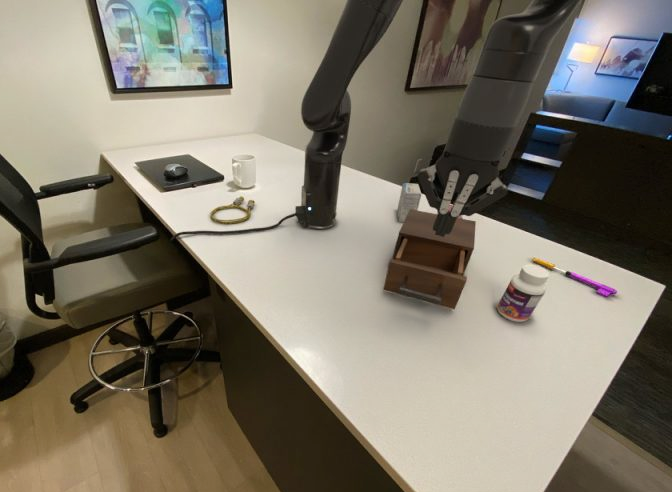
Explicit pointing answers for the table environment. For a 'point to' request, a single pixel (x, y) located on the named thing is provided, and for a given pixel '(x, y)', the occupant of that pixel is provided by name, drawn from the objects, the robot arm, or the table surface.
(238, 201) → the coiled yellow cable
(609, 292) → the purple and yellow rod
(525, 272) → the pill bottle
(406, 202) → the medicine box
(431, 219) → the cabinet
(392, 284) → the drawer
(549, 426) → the table surface
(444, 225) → the robot arm
